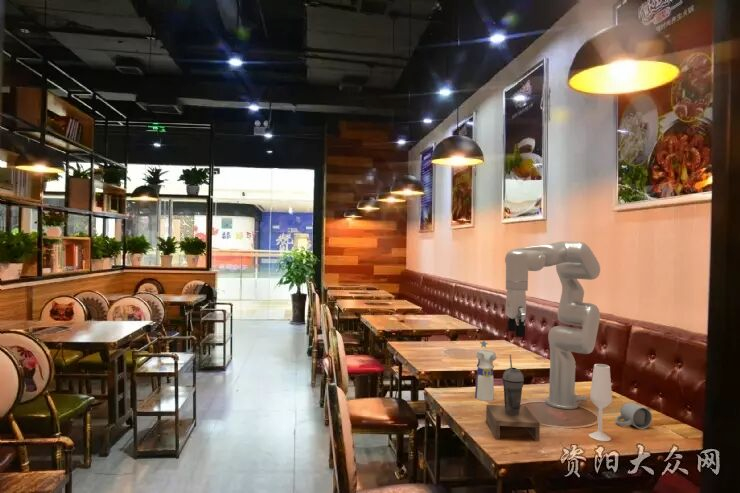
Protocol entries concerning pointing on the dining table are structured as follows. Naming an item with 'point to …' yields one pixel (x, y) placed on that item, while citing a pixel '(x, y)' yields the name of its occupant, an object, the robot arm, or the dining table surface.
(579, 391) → the dining table surface
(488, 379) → the water bottle
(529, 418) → the walnut shelf
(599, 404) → the champagne flute
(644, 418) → the ceramic mug
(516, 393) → the beverage cup
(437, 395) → the dining table surface
